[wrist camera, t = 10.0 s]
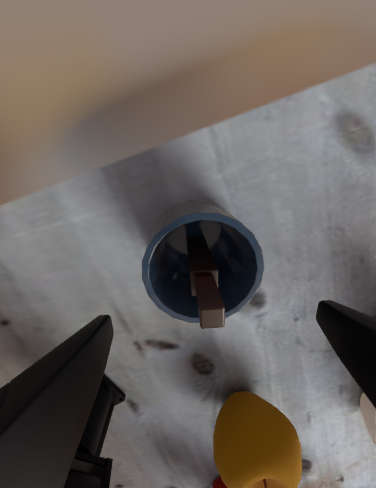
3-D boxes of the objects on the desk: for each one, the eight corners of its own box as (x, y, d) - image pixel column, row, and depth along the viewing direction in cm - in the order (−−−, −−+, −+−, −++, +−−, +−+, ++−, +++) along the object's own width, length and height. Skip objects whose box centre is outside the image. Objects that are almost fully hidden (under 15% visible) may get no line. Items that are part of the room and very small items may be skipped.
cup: (249, 252, 19) (282, 288, 13) (183, 290, 20) (184, 340, 14) (210, 182, 17) (228, 186, 11) (137, 229, 18) (116, 256, 12)
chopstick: (204, 235, 18) (231, 301, 8) (204, 251, 18) (230, 332, 9) (186, 236, 18) (193, 304, 8) (187, 253, 18) (195, 334, 9)
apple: (274, 365, 24) (325, 467, 16) (277, 413, 27) (321, 520, 19) (201, 378, 24) (213, 485, 16) (212, 424, 27) (227, 535, 19)
